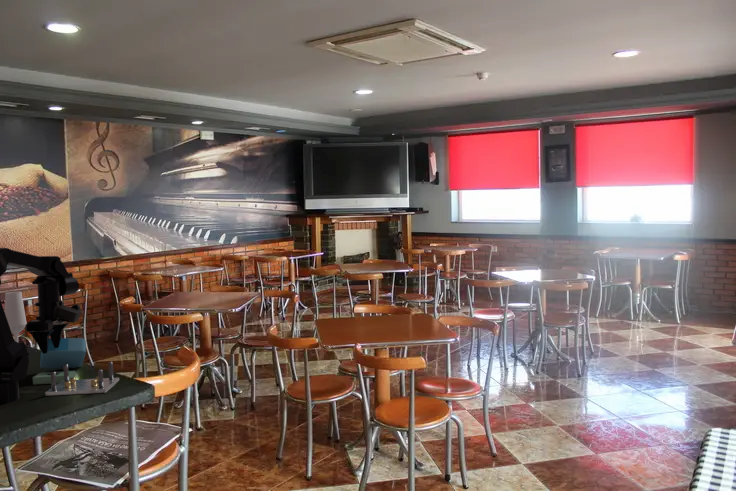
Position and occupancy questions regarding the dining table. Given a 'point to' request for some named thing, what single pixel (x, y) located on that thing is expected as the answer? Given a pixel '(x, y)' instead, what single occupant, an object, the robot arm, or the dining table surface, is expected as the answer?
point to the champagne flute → (15, 312)
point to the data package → (64, 354)
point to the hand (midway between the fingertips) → (50, 350)
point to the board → (46, 377)
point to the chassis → (82, 383)
